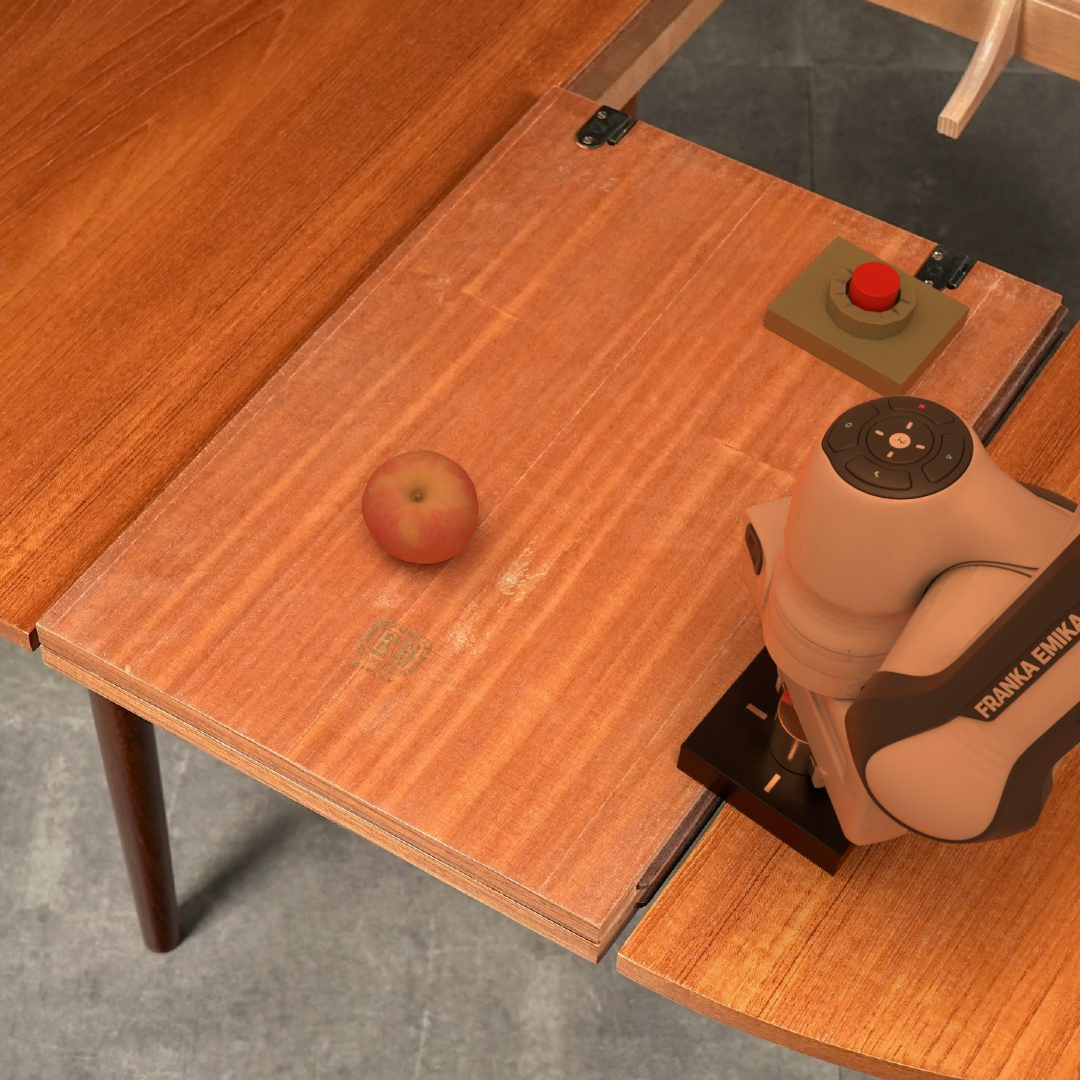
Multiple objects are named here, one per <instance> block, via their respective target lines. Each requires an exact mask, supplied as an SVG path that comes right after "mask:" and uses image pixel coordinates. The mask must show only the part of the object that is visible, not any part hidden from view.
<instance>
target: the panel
mask: <svg viewBox="0 0 1080 1080" xmlns="http://www.w3.org/2000/svg"><path fill="white" fill-rule="evenodd" d="M777 679H778V672H777V665H776V663H775V662H774V660H773V659H772V657H771V656H770V654H769V652H768V650H767V647H766V645H764V647H763V648H761V650H760V651H759V652H758V653H757V655H755V657H754V658H753V659H752V660H751V662H750V663H749V664H748V665H747V667H745V669H744V670H743V671H742V672H741V674H740V675H739V676H738V677H737V678H736V679H735V680H734V682H733V683H732V684H731V685H730V686H729V688H728V689H727V690H726V691H725V692H724V693H723V695H722V696H721V697H720V698H719V699H718V701H717V702H716V703H715V704H714V705H713V706H712V708H711V709H710V710H709V711H708V712H707V713H706V715H705V716H704V717H703V718H702V719H701V721H700V722H699V723H698V724H697V725H696V726H695V728H694V729H693V730H692V732H691V733H690V734H688V736H687V737H686V738H685V740H684V741H683V742H682V743H681V744H680V748H679V752H678V753H679V754H678V758H677V764H676V768H677V769H679V770H680V771H682V772H683V773H684V774H686V775H687V776H689V777H690V778H691V777H692V778H691V779H693V780H694V779H695V780H694V781H696V782H697V781H698V782H697V783H699V782H700V783H701V784H700V783H699V784H700V785H702V784H703V785H704V786H705V788H706V789H707V790H709V791H710V792H712V794H714V795H716V796H717V797H719V798H720V799H722V800H723V801H724V802H726V804H728V805H730V806H731V807H733V808H735V809H736V810H737V811H738V812H740V813H742V814H743V815H744V816H746V817H747V818H749V819H750V820H752V821H753V822H754V823H755V824H757V825H759V827H762V828H763V829H764V830H766V831H767V832H768V833H770V834H771V835H773V836H774V837H776V838H777V839H779V840H780V841H781V842H783V843H784V844H786V845H787V846H789V847H790V848H791V849H793V850H795V851H796V852H797V853H799V854H800V855H802V857H804V858H806V859H807V860H808V861H810V862H812V863H813V864H815V865H816V866H817V867H819V868H820V869H822V870H823V871H825V872H826V873H827V874H829V875H830V876H831V877H835V875H836V874H837V873H838V871H839V870H840V869H841V868H842V866H843V865H844V864H845V862H846V861H847V859H849V857H850V855H851V854H852V853H853V851H854V850H855V849H856V847H857V846H858V845H856V844H854V843H852V842H850V841H849V840H848V839H847V838H846V837H845V835H844V833H843V831H842V828H841V826H840V823H839V820H838V818H837V815H836V813H835V810H834V808H833V805H832V802H831V800H830V797H829V795H828V792H827V790H826V787H820V788H815V787H814V785H813V782H812V779H811V777H810V775H803V774H798V773H794V772H792V771H790V770H788V769H786V768H785V767H783V766H782V765H781V764H780V763H779V762H778V761H777V760H776V759H775V757H774V756H773V754H772V751H771V748H770V744H769V738H770V733H771V729H772V726H773V722H774V718H775V715H776V711H777V708H778V704H779V701H780V697H779V695H778V692H777V689H776V683H777ZM703 785H702V786H703ZM704 786H703V787H704Z"/></svg>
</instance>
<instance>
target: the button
mask: <svg viewBox="0 0 1080 1080" xmlns="http://www.w3.org/2000/svg"><path fill="white" fill-rule="evenodd" d="M899 287H900V277H899V275H898V273H897V272H896V271H895V270H894V269H893V268H892V267H890V266H888V265H886V264H884V263H880V262H867V263H864V264H861V265H860V266H858V267H857V268H856V269H855V270H854V272H853V275H852V279H851V283H850V287H849V297H850V299H851V301H852V302H853V303H854V304H855V305H856V306H857V307H859V308H861V309H863V310H865V311H871V312H881V311H885V310H887V309H889V308H890V307H892V306H893V304H894V303H895V301H896V298H897V294H898V291H899Z"/></svg>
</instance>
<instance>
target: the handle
mask: <svg viewBox="0 0 1080 1080" xmlns="http://www.w3.org/2000/svg"><path fill="white" fill-rule="evenodd" d="M769 744H770V748H771V751H772V754H773V756H774V757H775V759H776V760H777V761H778V762H779V763H780V764H781V765H782V766H783V767H785V768H786V769H788V770H790V771H792V772H794V773H798V774H803V775H810V774H809V771H808V769H807V764H808V760H809V757H810V755H813V754H812V751H811V749H810V746H809V744H808V741H807V739H806V736H805V733H804V731H803V728H802V726H801V723H800V721H799V718H798V716H797V713H796V710H795V708H794V705H793V703H792V700H791V698H790V695H789V693H788V690H787V689H786V691H785V692H784V693H783V695H782V697H781V699H780V701H779V704H778V708H777V711H776V715H775V718H774V722H773V726H772V729H771V733H770V738H769Z"/></svg>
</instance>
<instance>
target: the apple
mask: <svg viewBox="0 0 1080 1080" xmlns="http://www.w3.org/2000/svg"><path fill="white" fill-rule="evenodd" d="M475 486H476V485H475V484H474V482H473V481H472V479H471V477H470V475H469V474H468V473H467V471H466V470H465V469H464V467H462V466H461V465H460V464H459V463H458V462H456V461H455V460H453V459H451V458H449V457H448V456H446V455H444V454H442V453H440V452H438V451H433V450H425V449H424V450H423V449H421V450H413V451H407V452H403V453H400V454H398V455H396V456H393V457H391V458H389V459H387V460H386V461H384V462H383V463H382V464H380V465H379V466H378V467H377V468H376V469H375V470H374V471H373V473H372V474H371V476H370V477H369V479H368V481H367V483H366V485H365V488H364V490H363V493H362V498H361V513H362V517H363V521H364V523H365V525H366V528H367V529H368V530H369V533H370V534H371V536H372V538H373V540H374V541H375V542H376V543H377V544H378V546H380V547H381V549H383V550H384V551H386V553H387V554H388V555H390V556H392V557H394V558H395V559H398V560H401V561H404V562H408V563H412V564H422V565H425V564H437V563H441V562H444V561H447V560H450V559H451V558H454V557H456V556H457V555H458V554H460V553H461V552H462V551H463V550H464V549H465V548H466V547H467V545H468V544H469V543H470V541H471V539H472V538H473V536H474V532H475V530H476V527H477V522H478V517H479V498H478V494H477V493H478V492H477V489H476V487H475Z"/></svg>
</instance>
